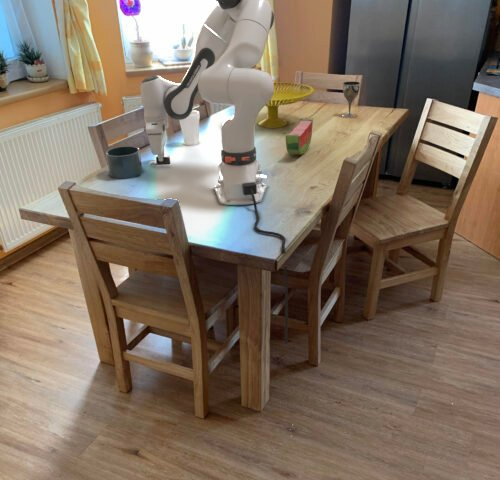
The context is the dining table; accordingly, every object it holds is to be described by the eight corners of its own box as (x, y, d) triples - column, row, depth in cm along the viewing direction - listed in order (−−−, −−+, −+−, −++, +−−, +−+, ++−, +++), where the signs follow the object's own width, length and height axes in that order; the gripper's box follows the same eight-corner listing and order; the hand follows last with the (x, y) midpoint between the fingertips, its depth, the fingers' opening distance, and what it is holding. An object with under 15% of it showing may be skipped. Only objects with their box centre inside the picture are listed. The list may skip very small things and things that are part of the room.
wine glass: (338, 115, 262) (340, 82, 253) (351, 112, 264) (353, 80, 255) (346, 118, 256) (349, 85, 247) (360, 116, 258) (363, 83, 250)
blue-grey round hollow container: (140, 177, 198) (136, 155, 193) (106, 179, 198) (102, 157, 193) (145, 166, 208) (141, 145, 203) (113, 168, 208) (109, 146, 203)
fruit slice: (299, 141, 228) (300, 117, 222) (313, 142, 226) (314, 118, 220) (284, 160, 208) (284, 135, 202) (299, 161, 206) (300, 135, 200)
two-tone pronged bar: (170, 162, 208) (169, 155, 207) (169, 165, 206) (168, 157, 204) (150, 163, 208) (149, 156, 207) (149, 165, 206) (148, 158, 204)
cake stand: (310, 135, 234) (311, 100, 225) (224, 135, 241) (221, 100, 232) (317, 113, 266) (318, 81, 257) (240, 113, 273) (239, 82, 264)
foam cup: (177, 145, 231) (173, 114, 223) (188, 139, 237) (185, 109, 229) (194, 147, 227) (191, 116, 219) (205, 141, 233) (203, 111, 226)
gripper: (152, 116, 206) (157, 151, 214) (144, 130, 190) (150, 168, 198) (167, 116, 206) (172, 151, 214) (161, 129, 190) (166, 167, 198)
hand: (161, 159), depth 206 cm, fingers closed on two-tone pronged bar, 2 cm apart
